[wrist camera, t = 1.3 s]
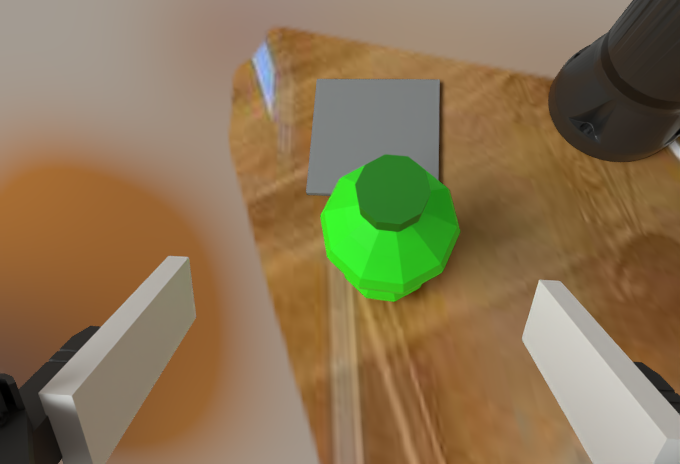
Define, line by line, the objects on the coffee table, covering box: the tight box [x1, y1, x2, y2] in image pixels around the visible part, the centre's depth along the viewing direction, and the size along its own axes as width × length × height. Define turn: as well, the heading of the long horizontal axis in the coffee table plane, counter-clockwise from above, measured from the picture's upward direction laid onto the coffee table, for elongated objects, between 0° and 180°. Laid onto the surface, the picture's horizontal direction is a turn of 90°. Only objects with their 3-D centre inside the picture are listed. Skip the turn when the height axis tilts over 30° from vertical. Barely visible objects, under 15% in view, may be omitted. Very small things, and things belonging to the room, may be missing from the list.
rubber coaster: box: [306, 79, 440, 196], centre depth 50 cm, size 16×16×1 cm
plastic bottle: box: [320, 154, 460, 302], centre depth 34 cm, size 10×10×25 cm
